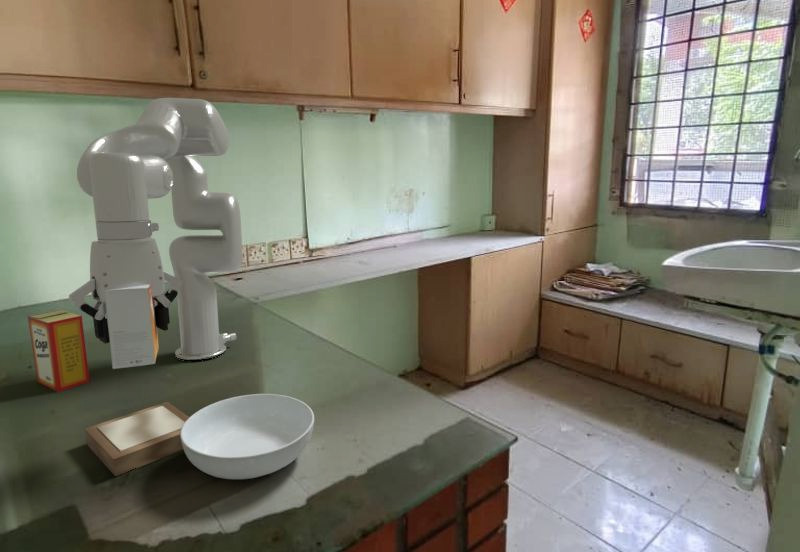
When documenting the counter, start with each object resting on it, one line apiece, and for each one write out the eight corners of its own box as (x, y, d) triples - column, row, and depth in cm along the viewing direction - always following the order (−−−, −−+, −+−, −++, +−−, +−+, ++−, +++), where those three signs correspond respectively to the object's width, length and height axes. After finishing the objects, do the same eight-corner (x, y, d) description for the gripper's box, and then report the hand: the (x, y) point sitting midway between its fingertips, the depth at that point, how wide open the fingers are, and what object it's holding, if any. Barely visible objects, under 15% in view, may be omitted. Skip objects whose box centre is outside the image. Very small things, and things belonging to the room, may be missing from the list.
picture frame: (168, 415, 94) (167, 400, 93) (202, 441, 84) (201, 424, 84) (86, 444, 83) (84, 427, 83) (115, 476, 74) (113, 458, 74)
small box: (156, 364, 79) (148, 287, 76) (111, 369, 76) (102, 290, 74) (159, 348, 86) (153, 278, 83) (119, 353, 84) (111, 280, 81)
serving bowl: (182, 514, 66) (178, 469, 65) (184, 440, 85) (181, 404, 84) (329, 479, 74) (328, 438, 73) (300, 419, 93) (299, 385, 92)
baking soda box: (89, 381, 109) (81, 314, 106) (57, 392, 104) (48, 321, 101) (68, 373, 114) (60, 308, 111) (37, 382, 109) (27, 314, 106)
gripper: (168, 227, 86) (176, 320, 89) (53, 234, 73) (67, 342, 76) (188, 229, 81) (195, 328, 84) (67, 238, 68) (82, 353, 71)
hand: (134, 334), depth 80 cm, fingers closed on small box, 8 cm apart
